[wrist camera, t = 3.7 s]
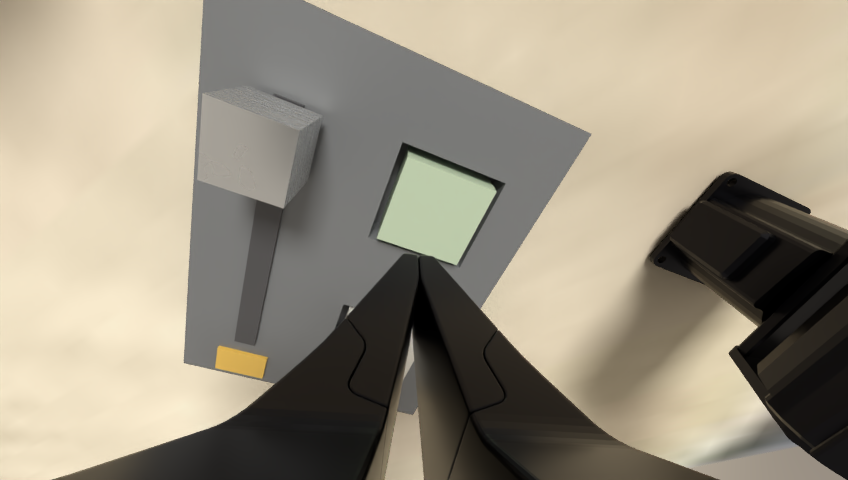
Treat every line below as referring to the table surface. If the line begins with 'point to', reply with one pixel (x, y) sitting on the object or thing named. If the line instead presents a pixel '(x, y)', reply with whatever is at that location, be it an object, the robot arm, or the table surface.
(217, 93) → the slider knob
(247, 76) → the control panel
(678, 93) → the table surface
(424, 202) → the sage button
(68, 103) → the table surface
